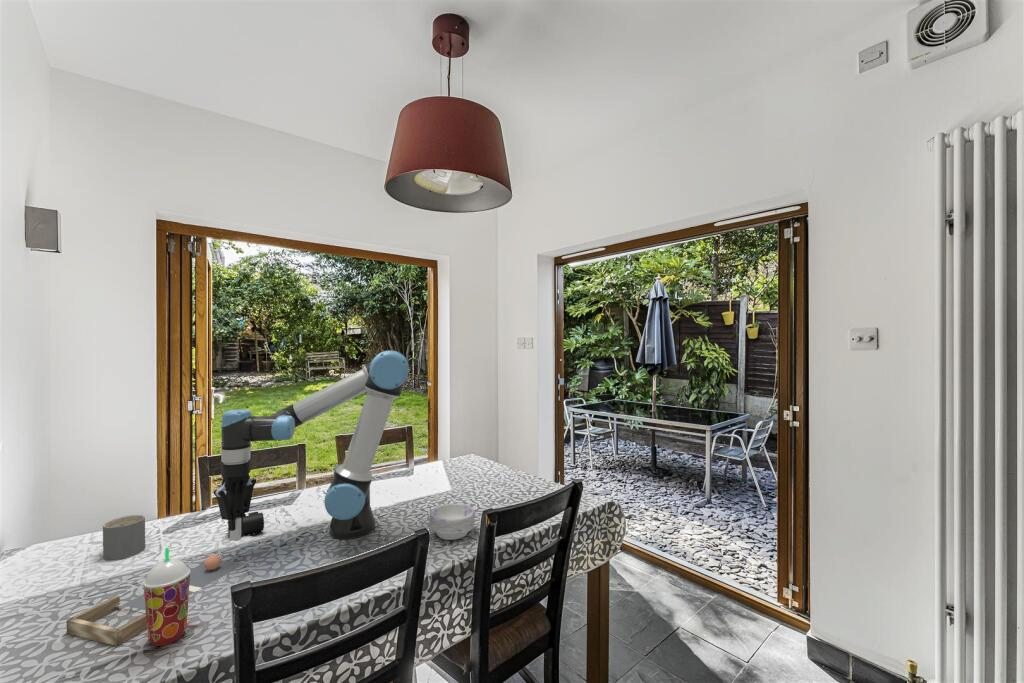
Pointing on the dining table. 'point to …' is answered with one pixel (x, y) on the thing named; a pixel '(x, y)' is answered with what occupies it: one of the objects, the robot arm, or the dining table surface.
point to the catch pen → (101, 633)
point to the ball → (212, 562)
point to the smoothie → (166, 600)
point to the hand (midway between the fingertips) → (235, 539)
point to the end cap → (251, 524)
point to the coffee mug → (123, 537)
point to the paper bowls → (452, 520)
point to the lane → (195, 580)
